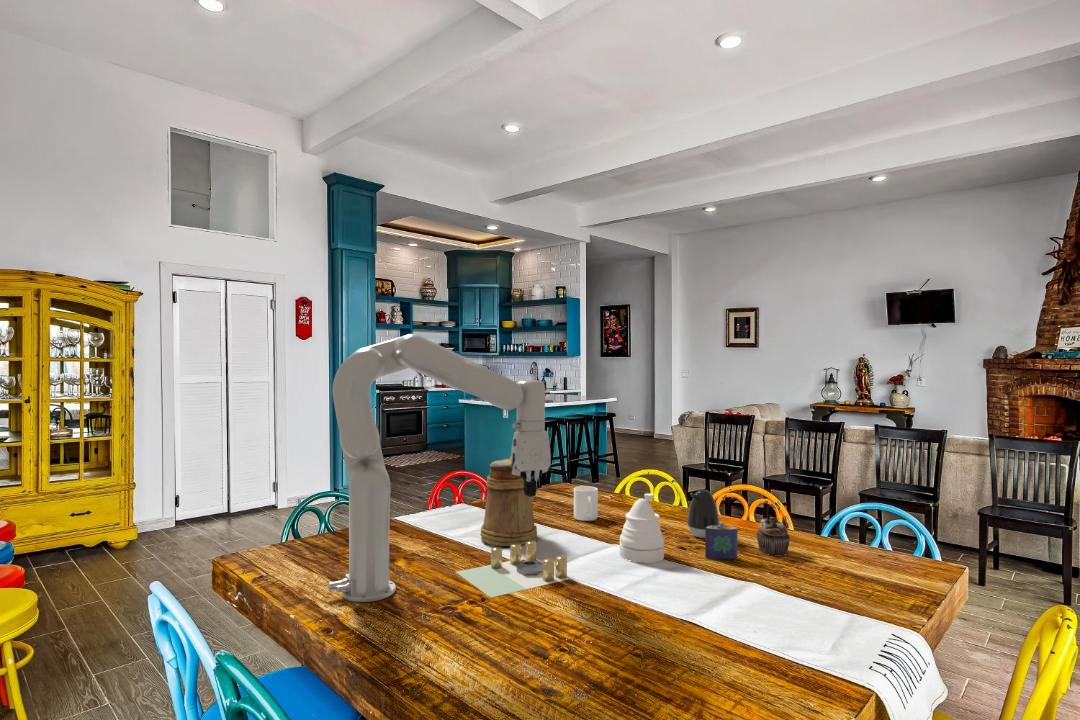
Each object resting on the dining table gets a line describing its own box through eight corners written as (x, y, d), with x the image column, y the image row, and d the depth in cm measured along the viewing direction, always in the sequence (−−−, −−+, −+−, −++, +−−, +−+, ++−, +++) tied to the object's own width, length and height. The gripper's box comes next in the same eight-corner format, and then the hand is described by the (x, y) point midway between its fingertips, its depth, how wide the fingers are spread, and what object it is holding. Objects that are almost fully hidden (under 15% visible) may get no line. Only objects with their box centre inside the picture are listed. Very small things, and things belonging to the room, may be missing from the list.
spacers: (522, 588, 150) (523, 567, 150) (489, 566, 165) (489, 548, 165) (569, 577, 158) (569, 558, 158) (532, 557, 173) (532, 540, 173)
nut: (526, 577, 157) (526, 569, 157) (513, 569, 163) (513, 561, 163) (546, 573, 160) (546, 564, 160) (532, 565, 166) (532, 557, 166)
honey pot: (661, 549, 184) (662, 490, 183) (666, 564, 171) (666, 500, 171) (618, 548, 185) (619, 488, 185) (620, 562, 172) (620, 498, 172)
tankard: (477, 548, 184) (477, 465, 183) (485, 526, 207) (485, 453, 207) (537, 548, 183) (537, 466, 183) (538, 526, 207) (538, 453, 207)
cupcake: (795, 557, 177) (796, 523, 177) (762, 556, 177) (762, 522, 177) (783, 547, 187) (783, 514, 187) (751, 546, 187) (751, 514, 187)
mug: (579, 524, 210) (579, 493, 210) (571, 515, 222) (571, 486, 222) (603, 523, 212) (603, 492, 212) (594, 514, 224) (594, 485, 223)
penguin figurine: (680, 533, 200) (680, 487, 200) (705, 530, 204) (705, 485, 204) (700, 542, 190) (700, 494, 190) (726, 538, 195) (726, 491, 195)
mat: (490, 600, 144) (490, 597, 144) (455, 574, 161) (455, 571, 161) (572, 581, 157) (572, 578, 157) (532, 559, 174) (532, 556, 174)
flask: (736, 557, 177) (736, 520, 177) (739, 560, 174) (739, 523, 174) (704, 556, 177) (704, 520, 177) (706, 560, 174) (706, 522, 174)
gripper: (513, 429, 154) (512, 501, 154) (561, 426, 162) (561, 495, 163) (499, 426, 161) (498, 496, 161) (546, 423, 169) (546, 489, 169)
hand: (530, 495), depth 162 cm, fingers closed
